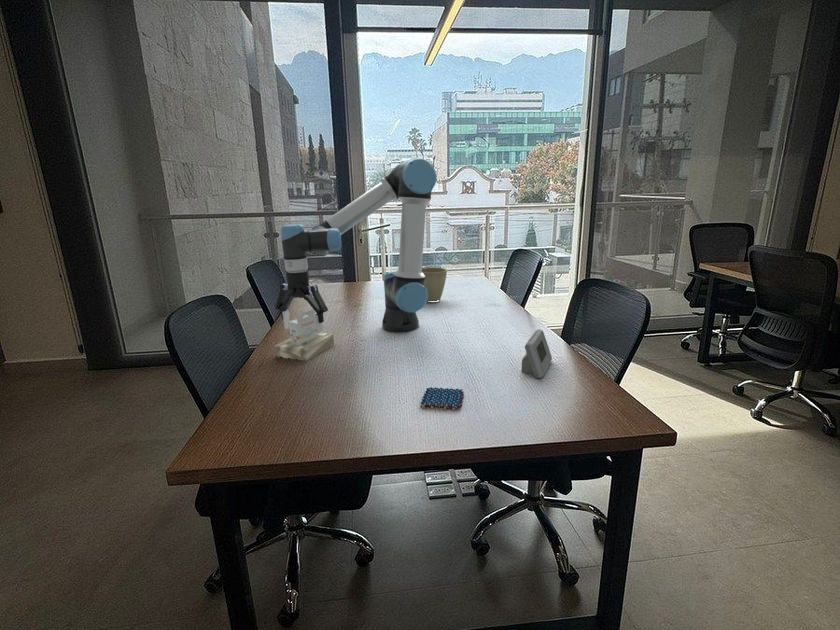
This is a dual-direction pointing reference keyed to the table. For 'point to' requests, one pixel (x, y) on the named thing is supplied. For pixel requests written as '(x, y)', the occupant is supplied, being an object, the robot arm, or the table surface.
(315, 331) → the ink cartridge box
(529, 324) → the table surface
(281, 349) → the beige flat rectangular frame
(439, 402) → the woven mat
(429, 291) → the plant pot
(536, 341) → the digital clock
